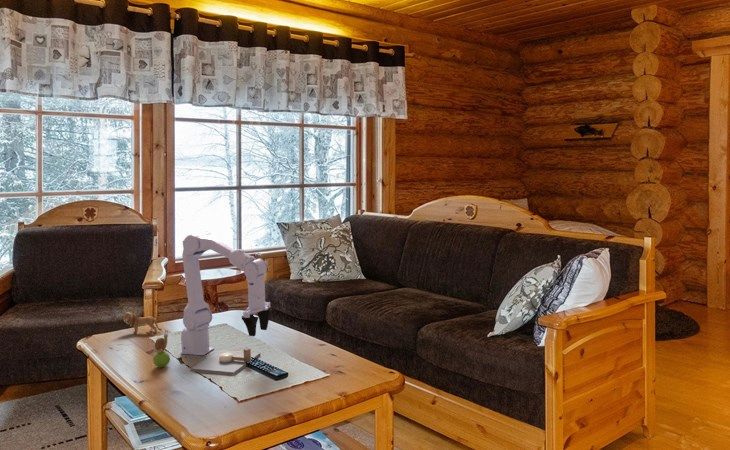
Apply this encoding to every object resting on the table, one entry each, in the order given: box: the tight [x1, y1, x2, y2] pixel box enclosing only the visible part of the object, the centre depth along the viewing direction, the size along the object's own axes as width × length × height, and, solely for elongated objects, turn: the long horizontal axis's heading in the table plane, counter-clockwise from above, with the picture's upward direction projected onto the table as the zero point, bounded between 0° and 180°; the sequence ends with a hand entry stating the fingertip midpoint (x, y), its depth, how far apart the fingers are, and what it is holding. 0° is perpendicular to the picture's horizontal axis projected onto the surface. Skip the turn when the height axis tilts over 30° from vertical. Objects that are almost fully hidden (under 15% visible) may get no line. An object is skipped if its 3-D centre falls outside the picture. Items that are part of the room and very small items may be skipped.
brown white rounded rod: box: [219, 347, 252, 362], centre depth 213 cm, size 12×5×4 cm, turn 74°
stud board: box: [190, 349, 261, 376], centre depth 214 cm, size 18×20×1 cm
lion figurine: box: [123, 311, 163, 335], centre depth 253 cm, size 15×5×9 cm, turn 100°
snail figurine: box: [152, 329, 171, 368], centre depth 211 cm, size 5×6×12 cm
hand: (258, 332), depth 215 cm, fingers open, 7 cm apart
